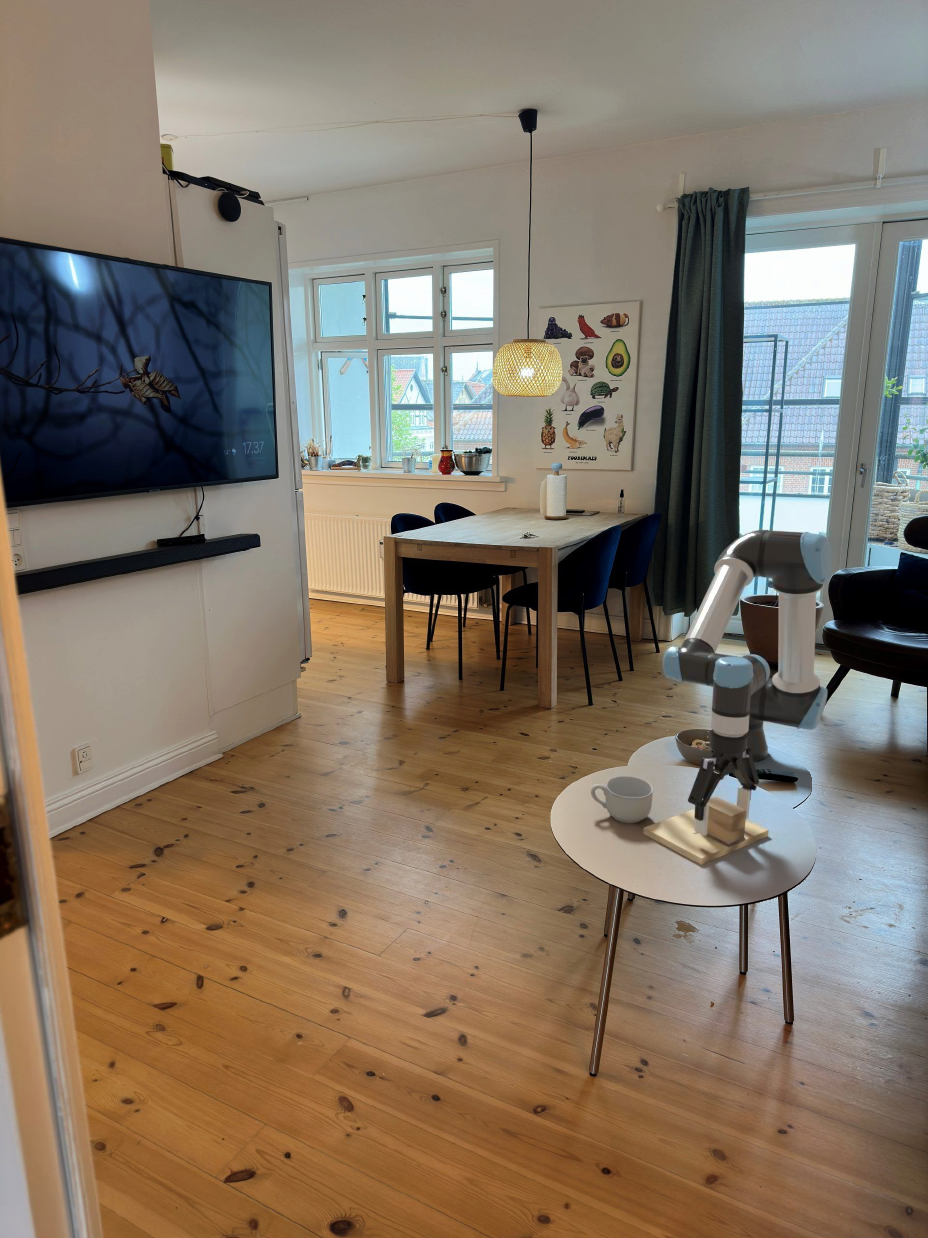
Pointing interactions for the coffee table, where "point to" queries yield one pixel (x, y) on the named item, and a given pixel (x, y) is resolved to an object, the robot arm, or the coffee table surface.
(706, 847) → the pine board
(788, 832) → the coffee table surface
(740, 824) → the brown wooden block
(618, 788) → the teacup
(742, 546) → the robot arm
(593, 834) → the coffee table surface
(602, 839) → the coffee table surface
